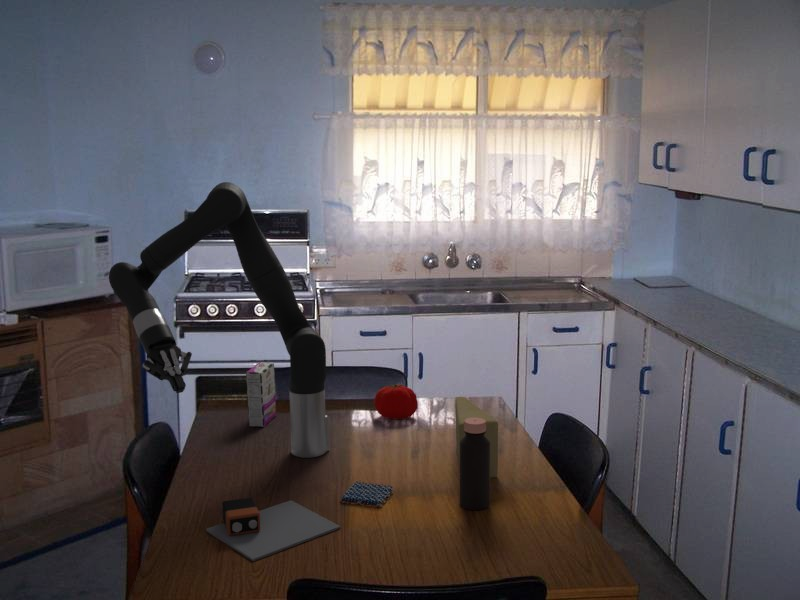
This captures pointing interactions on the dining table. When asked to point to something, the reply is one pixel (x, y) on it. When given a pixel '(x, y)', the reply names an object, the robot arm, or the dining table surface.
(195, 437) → the dining table surface
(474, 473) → the bottle
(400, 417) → the tomato
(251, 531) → the battery
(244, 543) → the rubber mat
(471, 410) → the cheese
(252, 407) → the candy bar box
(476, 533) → the dining table surface
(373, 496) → the woven mat
